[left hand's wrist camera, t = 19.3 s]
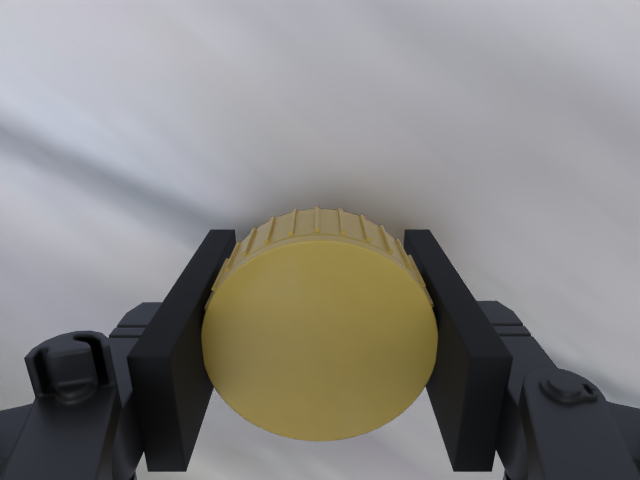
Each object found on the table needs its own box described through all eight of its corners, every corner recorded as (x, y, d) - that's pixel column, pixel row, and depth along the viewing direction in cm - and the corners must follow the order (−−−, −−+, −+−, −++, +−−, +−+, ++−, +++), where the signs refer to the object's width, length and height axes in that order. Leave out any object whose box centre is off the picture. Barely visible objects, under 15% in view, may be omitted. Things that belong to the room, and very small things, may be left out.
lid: (217, 196, 11) (194, 226, 9) (437, 214, 11) (465, 248, 9) (217, 377, 13) (198, 437, 11) (404, 390, 13) (420, 450, 11)
